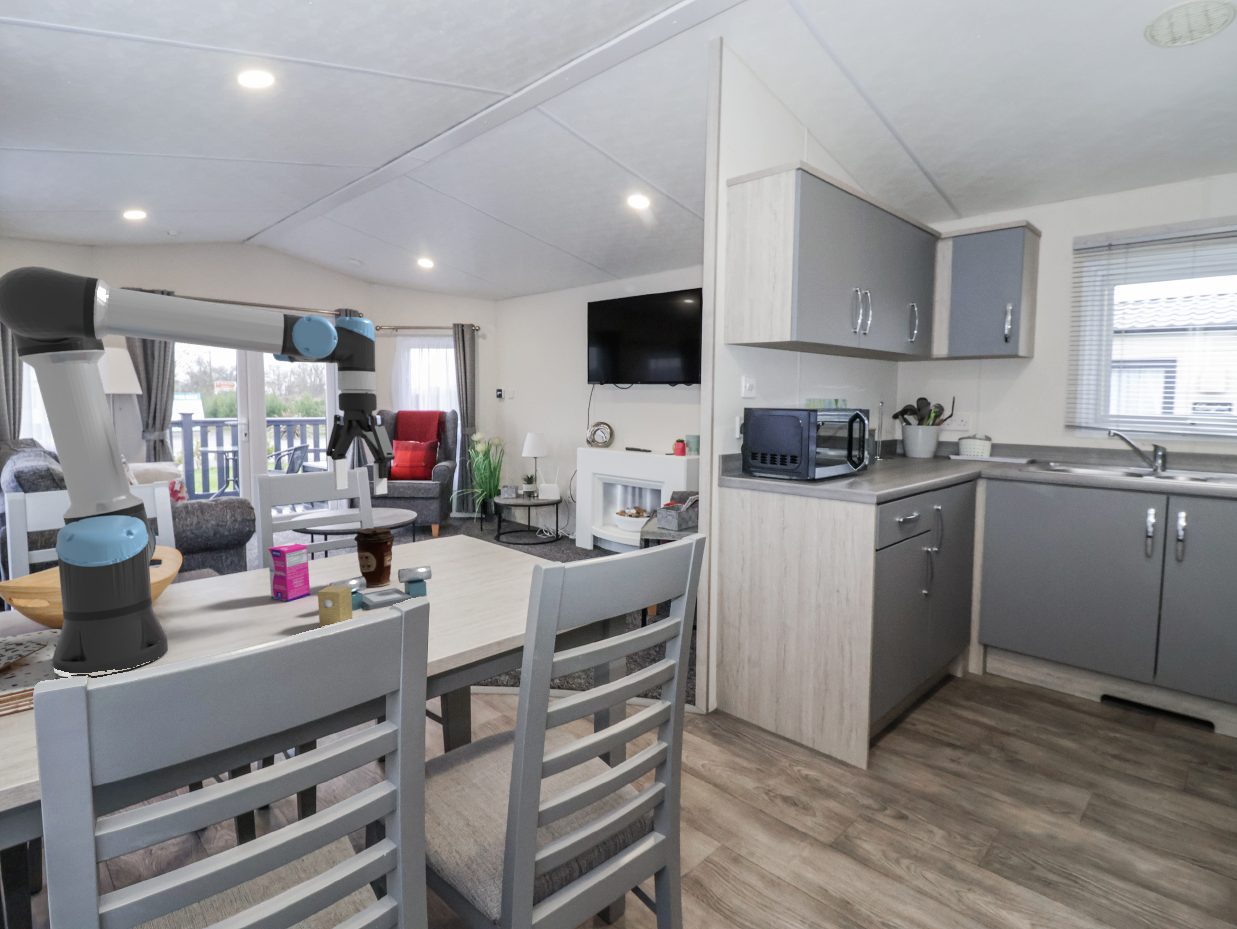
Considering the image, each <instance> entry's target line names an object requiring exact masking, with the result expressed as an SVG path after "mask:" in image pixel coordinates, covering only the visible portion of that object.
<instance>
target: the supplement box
mask: <svg viewBox="0 0 1237 929" xmlns="http://www.w3.org/2000/svg"><path fill="white" fill-rule="evenodd" d="M267 552H268V566H269V567H268V569H269V583H270V586H269V587H270V597H271V599H274V600H275V599H276V600H280V601H284V602H288V603H289V602H293V601H295V600H299V599H302V598H306V597H310V596H311V588H310V586H311V585H310V573H309V570H310V569H309V556H308V545H306V544H301V543H293V542H288V543H287V542H286V543H284V544H280V545H276V546H272V547H268V548H267Z"/></svg>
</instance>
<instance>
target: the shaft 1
mask: <svg viewBox="0 0 1237 929" xmlns="http://www.w3.org/2000/svg"><path fill="white" fill-rule="evenodd" d="M329 586H348V587H351V595H352V611H356V610H360V609H363V608H364V606H363V594H364V593H361V591H364V590H366V589H367V586H366V580H365V578H364V577H363V576H362V575H360V576H359V575H358V576H356V577H351V578H347V579H343V580H338V581H334V582H330V583H329V585H328V587H329Z"/></svg>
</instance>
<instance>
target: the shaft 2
mask: <svg viewBox="0 0 1237 929" xmlns="http://www.w3.org/2000/svg"><path fill="white" fill-rule="evenodd" d="M432 574H433V573H432V568H431V566H430V565H425V566H418V567H409V568H401V569H398V572H397V576H398V582H399V584H403V583H404V593H406V594H408V595H410V596H411V597H412V599H414V598H413V597H415V598H420V597H419V596H421V597H426V596H427V594H428V593H427V582H426V581H427V580H431V579H432V576H433V575H432ZM425 595H426V596H425Z"/></svg>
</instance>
